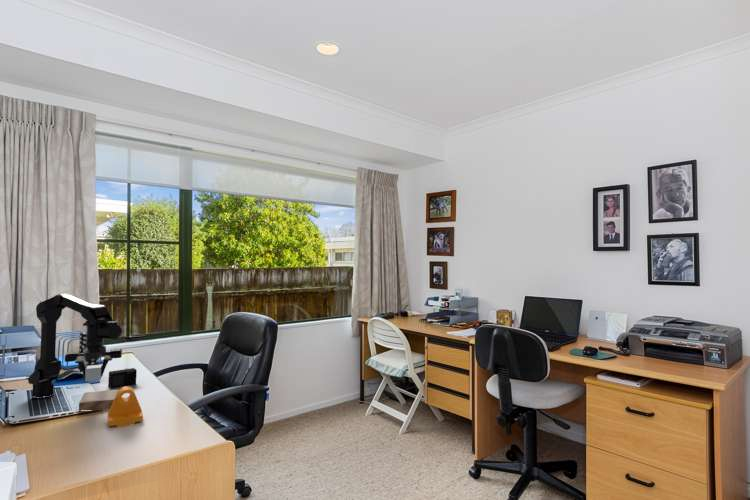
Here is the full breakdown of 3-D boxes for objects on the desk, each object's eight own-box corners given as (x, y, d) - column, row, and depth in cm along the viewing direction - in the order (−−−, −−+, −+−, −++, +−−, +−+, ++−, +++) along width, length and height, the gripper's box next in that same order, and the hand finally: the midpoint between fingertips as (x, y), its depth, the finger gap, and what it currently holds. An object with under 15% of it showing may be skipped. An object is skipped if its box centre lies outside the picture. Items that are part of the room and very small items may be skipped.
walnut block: (78, 413, 161) (79, 402, 161) (84, 402, 172) (84, 392, 172) (118, 409, 167) (118, 398, 167) (121, 398, 178) (121, 389, 178)
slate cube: (85, 381, 165) (85, 368, 165) (87, 378, 169) (87, 365, 170) (100, 380, 167) (100, 367, 167) (101, 377, 172) (102, 364, 172)
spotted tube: (101, 372, 212) (103, 332, 212) (82, 376, 205) (84, 335, 205) (93, 369, 217) (95, 330, 217) (74, 373, 210) (76, 332, 210)
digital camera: (111, 389, 188) (111, 374, 188) (107, 386, 191) (108, 371, 191) (136, 385, 195) (137, 370, 195) (133, 382, 199) (134, 367, 199)
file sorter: (103, 363, 229) (104, 335, 229) (65, 370, 215) (67, 339, 215) (82, 356, 243) (84, 329, 243) (46, 361, 229) (47, 333, 229)
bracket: (107, 428, 147) (109, 394, 148) (107, 421, 153) (108, 388, 154) (142, 422, 153) (144, 389, 154) (140, 416, 159) (142, 384, 160)
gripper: (62, 342, 157) (60, 384, 157) (120, 339, 166) (119, 379, 165) (68, 337, 167) (66, 377, 167) (122, 334, 176) (121, 372, 175)
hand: (93, 376), depth 168 cm, fingers closed on slate cube, 5 cm apart
